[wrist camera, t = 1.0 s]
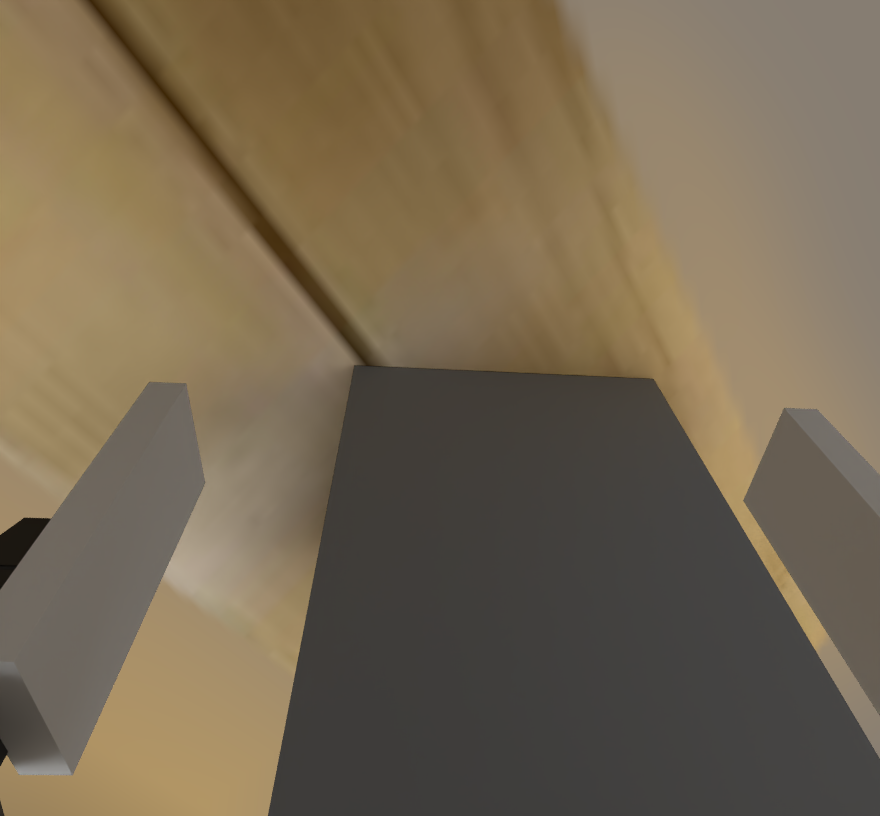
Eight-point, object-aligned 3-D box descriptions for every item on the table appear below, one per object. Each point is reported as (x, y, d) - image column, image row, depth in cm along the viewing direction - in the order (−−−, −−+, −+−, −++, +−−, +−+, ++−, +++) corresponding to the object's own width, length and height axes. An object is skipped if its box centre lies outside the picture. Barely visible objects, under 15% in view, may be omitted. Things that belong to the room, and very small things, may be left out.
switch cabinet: (354, 365, 37) (216, 1083, 12) (676, 380, 38) (1127, 1070, 13) (357, 555, 45) (279, 1191, 21) (617, 563, 46) (826, 1179, 22)
